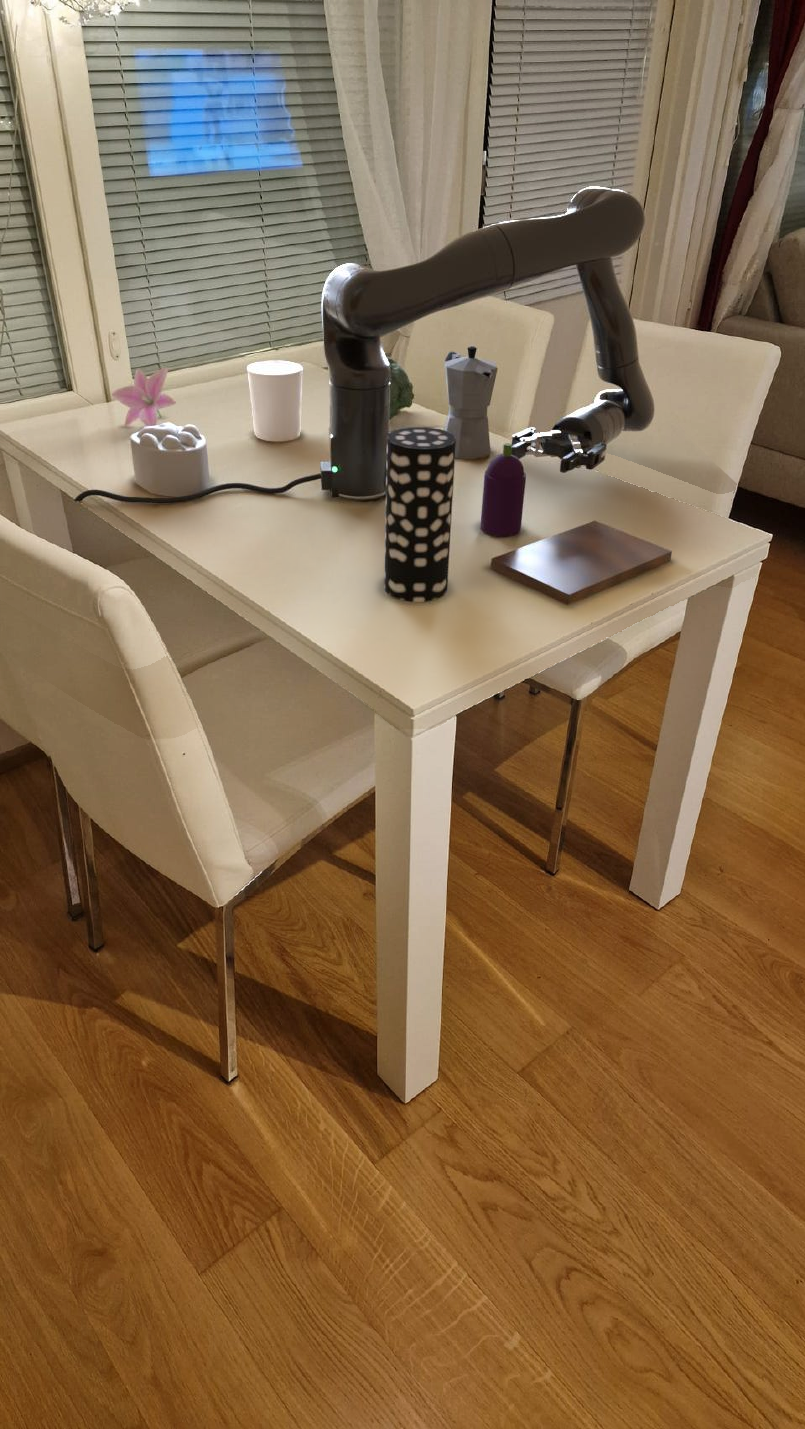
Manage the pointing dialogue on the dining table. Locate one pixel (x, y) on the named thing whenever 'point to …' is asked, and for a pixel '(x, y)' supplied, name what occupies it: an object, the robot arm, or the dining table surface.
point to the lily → (144, 397)
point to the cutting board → (580, 561)
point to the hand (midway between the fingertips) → (537, 460)
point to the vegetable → (399, 389)
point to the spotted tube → (418, 512)
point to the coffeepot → (469, 402)
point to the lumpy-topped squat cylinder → (170, 460)
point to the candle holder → (276, 399)
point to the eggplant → (503, 495)
